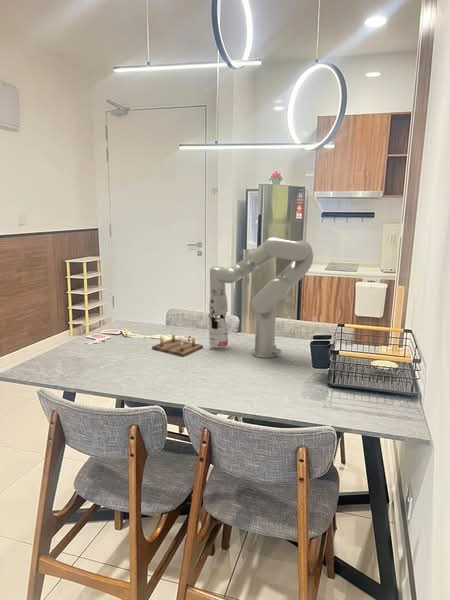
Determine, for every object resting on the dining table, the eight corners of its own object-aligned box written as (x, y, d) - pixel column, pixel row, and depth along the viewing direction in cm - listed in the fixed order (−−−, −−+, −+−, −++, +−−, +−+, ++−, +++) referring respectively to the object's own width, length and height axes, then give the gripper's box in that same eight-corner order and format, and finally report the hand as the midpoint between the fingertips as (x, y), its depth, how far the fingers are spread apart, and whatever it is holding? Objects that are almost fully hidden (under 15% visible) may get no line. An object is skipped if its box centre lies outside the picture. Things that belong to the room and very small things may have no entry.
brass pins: (195, 345, 215) (195, 338, 215) (182, 351, 207) (182, 343, 206) (173, 340, 223) (173, 333, 222) (159, 346, 215) (159, 338, 214)
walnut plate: (203, 348, 216) (203, 345, 216) (183, 356, 203) (183, 353, 203) (172, 341, 227) (172, 338, 227) (152, 349, 214) (152, 346, 214)
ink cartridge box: (228, 344, 217) (227, 316, 214) (225, 347, 212) (224, 318, 209) (212, 343, 219) (211, 315, 217) (209, 345, 215) (208, 317, 212)
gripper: (214, 295, 201) (214, 332, 205) (233, 289, 215) (233, 324, 219) (201, 294, 205) (202, 330, 209) (221, 288, 219) (221, 322, 223)
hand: (218, 326), depth 214 cm, fingers closed on ink cartridge box, 5 cm apart
